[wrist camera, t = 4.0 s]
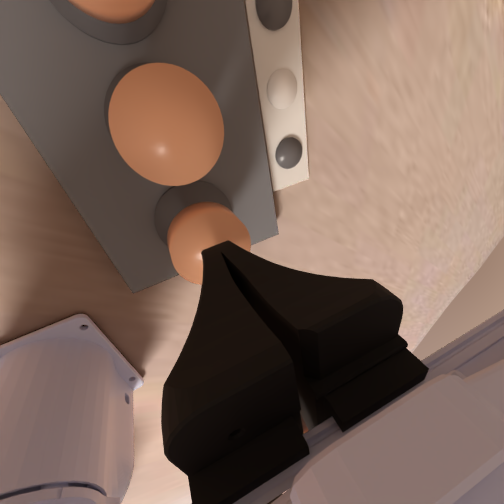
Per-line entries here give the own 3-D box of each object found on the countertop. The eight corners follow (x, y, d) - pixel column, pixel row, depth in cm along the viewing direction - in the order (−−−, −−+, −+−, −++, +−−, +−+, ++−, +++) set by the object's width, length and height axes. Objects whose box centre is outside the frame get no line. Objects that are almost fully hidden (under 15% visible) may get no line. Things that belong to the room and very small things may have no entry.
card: (306, 177, 19) (310, 179, 18) (271, 190, 18) (275, 192, 18) (291, -64, 12) (296, -70, 12) (234, -58, 11) (237, -64, 11)
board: (271, 227, 20) (280, 235, 19) (132, 283, 17) (133, 296, 16) (203, -177, 9) (214, -217, 8) (-166, -180, 7) (-226, -238, 6)
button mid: (217, 158, 13) (234, 169, 11) (139, 182, 12) (141, 199, 10) (191, 61, 10) (207, 51, 8) (92, 82, 9) (81, 77, 7)
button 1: (240, 245, 16) (257, 266, 14) (180, 269, 15) (188, 296, 13) (224, 185, 14) (241, 200, 12) (152, 210, 13) (156, 231, 11)
